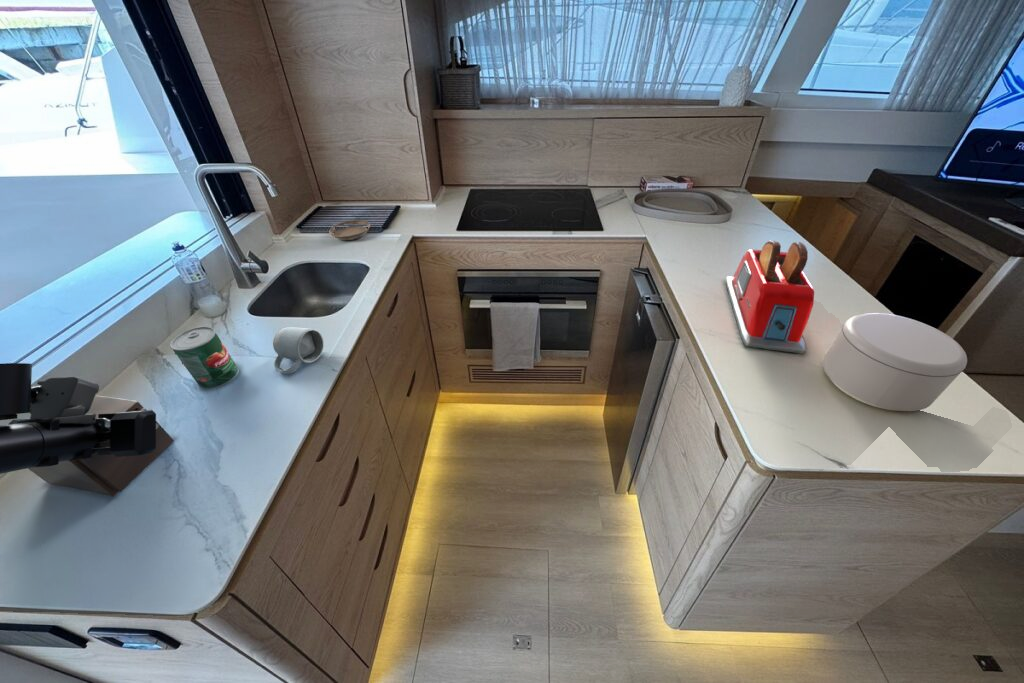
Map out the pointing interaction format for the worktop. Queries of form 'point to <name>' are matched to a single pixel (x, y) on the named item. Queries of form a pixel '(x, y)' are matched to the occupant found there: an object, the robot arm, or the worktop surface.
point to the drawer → (126, 462)
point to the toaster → (772, 297)
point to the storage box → (74, 470)
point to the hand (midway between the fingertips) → (137, 428)
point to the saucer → (350, 230)
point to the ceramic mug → (297, 347)
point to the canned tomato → (205, 357)
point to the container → (893, 361)
